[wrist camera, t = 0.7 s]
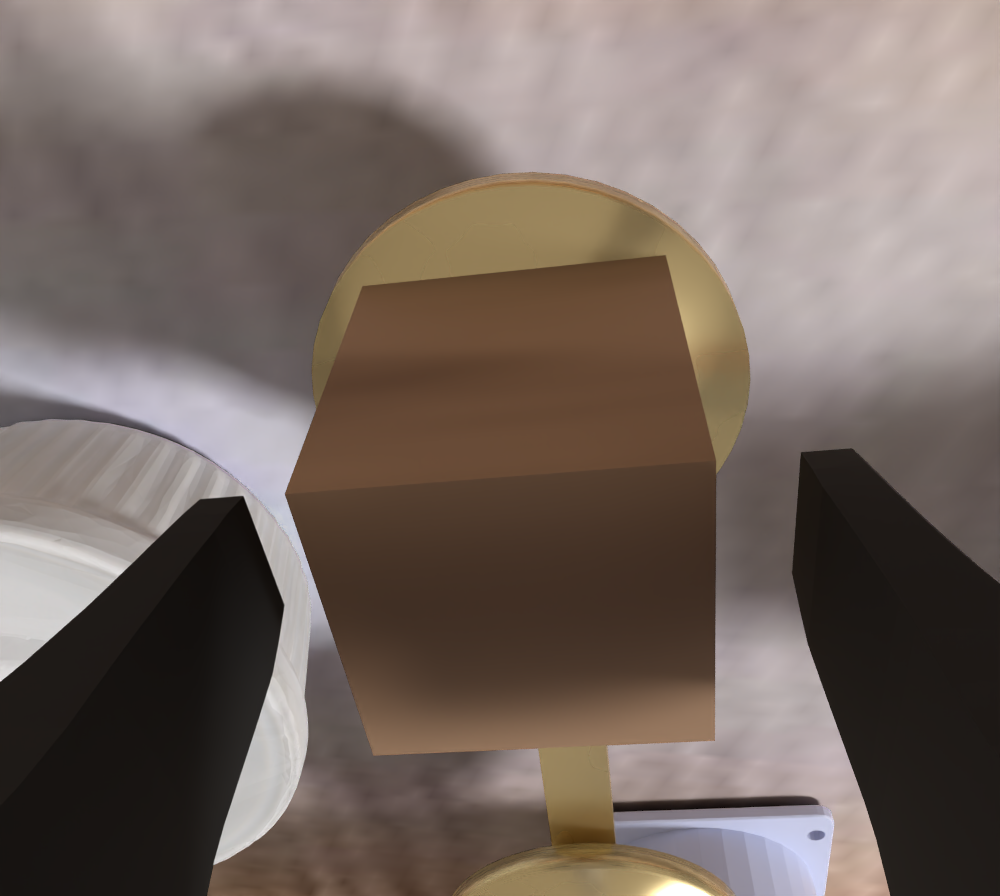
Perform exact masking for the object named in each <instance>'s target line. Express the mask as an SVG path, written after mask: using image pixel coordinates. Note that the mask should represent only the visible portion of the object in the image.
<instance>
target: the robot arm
mask: <svg viewBox="0 0 1000 896" xmlns="http://www.w3.org/2000/svg"><path fill="white" fill-rule="evenodd" d="M792 574H793V579H794V584H795V588H796V593H797V598H798V602H799V607H800V612H801V616H802V620H803V625H804V629H805V633H806V638H807V642H808V646H809V649H810V651H811V654H812V657H813V660H814V663H815V666H816V669H817V671H818V674H819V677H820V680H821V683H822V685H823V688H824V691H825V694H826V697H827V700H828V702H829V705H830V708H831V711H832V713H833V716H834V719H835V722H836V724H837V727H838V730H839V733H840V735H841V738H842V741H843V744H844V746H845V749H846V752H847V755H848V758H849V760H850V763H851V766H852V769H853V771H854V774H855V777H856V780H857V782H858V785H859V788H860V791H861V793H862V796H863V799H864V802H865V805H866V808H867V811H868V814H869V818H870V821H871V824H872V827H873V830H874V834H875V837H876V840H877V844H878V848H879V852H880V856H881V860H882V864H883V868H884V872H885V876H886V880H887V884H888V888H889V892H890V896H1000V584H999V583H998V582H997V581H996V580H995V579H993V578H992V577H991V576H990V575H989V574H987V573H986V572H985V571H984V570H983V569H981V568H980V567H979V566H978V565H977V564H975V563H974V562H973V561H972V560H971V559H970V558H969V557H968V556H966V555H965V554H964V553H963V552H962V551H961V550H960V549H958V548H957V547H956V546H955V545H954V544H953V543H952V542H951V541H949V540H948V539H947V538H946V537H945V536H944V535H943V534H941V533H940V532H939V531H938V530H937V529H936V528H935V527H934V526H933V525H932V524H931V523H929V522H928V521H927V520H926V519H925V518H924V517H923V516H922V515H921V514H920V513H919V512H918V511H917V510H916V509H915V508H913V507H912V506H911V505H910V504H909V503H908V502H907V501H906V500H905V499H904V498H903V497H902V496H901V495H900V494H899V493H898V492H897V491H896V490H895V489H894V488H893V487H892V486H891V485H890V484H889V483H888V482H887V481H886V480H885V479H883V478H882V477H881V476H880V475H879V474H878V473H877V472H876V471H875V470H874V469H873V468H872V467H871V466H870V465H869V464H868V463H867V462H866V461H865V460H864V459H863V458H862V457H861V456H860V455H859V454H858V453H856V452H855V451H854V450H853V449H839V450H826V451H813V452H801V459H800V473H799V487H798V501H797V514H796V528H795V542H794V556H793V569H792ZM284 606H285V605H284V602H283V599H282V597H281V594H280V591H279V589H278V586H277V584H276V581H275V578H274V576H273V573H272V570H271V568H270V565H269V562H268V560H267V557H266V554H265V552H264V549H263V546H262V544H261V541H260V538H259V536H258V533H257V530H256V528H255V525H254V522H253V520H252V517H251V514H250V512H249V509H248V506H247V504H246V501H245V498H244V496H233V497H221V498H208V499H200V500H198V501H197V502H196V503H195V504H194V505H193V506H191V507H190V508H189V509H188V510H187V511H186V512H185V513H184V514H183V515H182V516H180V517H179V518H178V519H177V520H176V521H175V522H174V523H173V524H172V525H171V526H170V527H169V528H168V529H167V530H166V531H165V532H164V533H163V534H162V535H161V536H160V537H159V538H158V539H157V540H156V541H155V542H153V543H152V544H151V545H150V546H149V547H148V548H147V549H146V550H145V551H144V552H143V553H142V554H141V555H140V556H139V557H138V558H137V559H136V560H135V561H134V562H133V563H132V564H131V565H130V566H129V567H128V568H127V569H126V570H125V571H124V572H123V573H122V574H121V575H119V576H118V577H117V578H116V579H115V580H114V581H113V582H112V583H111V584H110V585H109V586H108V587H107V588H106V589H105V590H104V591H103V592H102V593H101V594H100V595H99V596H98V597H97V598H95V599H94V600H93V601H92V602H91V603H90V604H89V605H88V606H87V607H86V608H85V609H84V610H83V611H81V612H80V613H79V614H78V615H77V616H76V617H75V618H74V619H72V620H71V621H70V622H69V623H68V624H67V625H66V626H64V627H63V628H62V629H61V630H60V631H59V632H58V633H57V634H55V635H54V636H53V637H52V638H51V639H50V640H49V641H48V642H46V643H45V644H44V645H43V646H42V647H41V648H40V649H38V650H37V651H36V652H35V653H34V654H33V655H32V656H31V657H29V658H28V659H27V660H26V661H25V662H24V663H22V664H21V665H20V666H19V667H18V668H16V669H15V670H14V671H13V672H12V673H10V674H9V675H8V676H7V677H5V678H4V679H3V680H2V681H0V896H207V892H208V888H209V883H210V878H211V874H212V869H213V864H214V860H215V856H216V853H217V849H218V846H219V842H220V838H221V835H222V831H223V828H224V824H225V821H226V818H227V815H228V812H229V809H230V806H231V803H232V800H233V797H234V794H235V791H236V788H237V784H238V781H239V778H240V775H241V772H242V769H243V766H244V763H245V760H246V757H247V754H248V751H249V748H250V745H251V741H252V738H253V735H254V732H255V729H256V726H257V723H258V720H259V717H260V713H261V710H262V707H263V704H264V701H265V698H266V694H267V691H268V688H269V685H270V681H271V678H272V675H273V670H274V665H275V660H276V654H277V649H278V644H279V638H280V632H281V625H282V619H283V613H284ZM614 823H615V833H616V844H620V845H629V846H636V847H642V848H647V849H652V850H656V851H660V852H664V853H668V854H671V855H674V856H677V857H680V858H683V859H685V860H687V861H690V862H692V863H694V864H696V865H699V866H701V867H702V868H704V869H706V870H707V871H709V872H711V873H713V874H714V875H715V876H717V877H718V878H719V879H721V880H722V881H723V882H724V883H726V885H727V886H728V887H729V888H730V889H731V890H732V891H733V892H734V893H735V895H736V896H825V889H826V881H827V874H828V867H829V859H830V852H831V845H832V837H833V830H834V820H833V816H832V813H831V810H829V809H828V808H827V807H824V806H821V805H798V806H770V807H742V808H714V809H686V810H658V811H630V812H614Z"/></svg>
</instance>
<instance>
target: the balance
mask: <svg viewBox="0 0 1000 896" xmlns="http://www.w3.org/2000/svg"><path fill="white" fill-rule="evenodd" d="M662 255H666V258H667V262H668V266H669V270H670V274H671V278H672V282H673V286H674V290H675V295H676V299H677V303H678V307H679V311H680V315H681V319H682V323H683V327H684V331H685V335H686V339H687V344H688V348H689V352H690V356H691V360H692V364H693V368H694V372H695V376H696V380H697V384H698V388H699V393H700V397H701V401H702V405H703V409H704V413H705V417H706V421H707V425H708V429H709V433H710V437H711V441H712V446H713V450H714V454H715V458H716V474H717V473H718V471H719V470H720V468H721V467H722V465H723V464H724V462H725V460H726V459H727V457H728V455H729V454H730V452H731V450H732V448H733V446H734V444H735V441H736V439H737V437H738V434H739V432H740V430H741V427H742V423H743V420H744V416H745V412H746V408H747V405H748V396H749V386H750V366H749V353H748V348H747V343H746V338H745V334H744V329H743V326H742V324H741V321H740V318H739V315H738V312H737V310H736V307H735V304H734V302H733V299H732V296H731V294H730V291H729V289H728V286H727V285H726V283H725V281H724V279H723V278H722V276H721V274H720V272H719V271H718V269H717V267H716V265H715V264H714V262H713V261H712V260H711V259H710V257H709V256H708V255H707V254H706V252H705V251H704V250H703V249H702V247H701V246H700V245H699V243H698V242H697V241H696V240H695V239H694V238H692V237H691V236H690V235H689V234H688V233H687V232H686V231H685V230H684V229H683V228H682V227H681V226H680V225H679V224H678V223H676V222H675V221H674V220H672V219H671V218H669V217H668V216H667V215H665V214H664V213H662V212H661V211H659V210H658V209H657V208H655V207H654V206H652V205H650V204H648V203H646V202H644V201H643V200H641V199H639V198H637V197H635V196H633V195H631V194H629V193H627V192H625V191H622V190H619V189H616V188H614V187H611V186H608V185H605V184H602V183H599V182H597V181H592V180H588V179H583V178H578V177H573V176H569V175H562V174H549V173H537V172H529V173H508V174H498V175H493V176H487V177H482V178H476V179H471V180H468V181H465V182H461V183H458V184H455V185H452V186H449V187H446V188H443V189H440V190H438V191H436V192H434V193H432V194H430V195H428V196H426V197H423V198H421V199H419V200H417V201H415V202H413V203H412V204H410V205H409V206H407V207H406V208H404V209H403V210H401V211H400V212H398V213H397V214H395V215H394V216H392V217H391V218H389V219H388V220H387V221H386V222H385V223H384V224H383V225H381V226H380V227H379V228H378V229H377V230H376V231H375V232H373V233H372V234H371V235H370V236H369V237H368V238H367V239H366V241H365V242H364V243H363V244H362V245H361V246H360V248H359V249H358V250H357V251H356V252H355V254H354V255H353V256H352V257H351V259H350V260H349V262H348V264H347V265H346V267H345V268H344V270H343V272H342V273H341V275H340V276H339V278H338V280H337V282H336V284H335V287H334V289H333V291H332V294H331V296H330V298H329V301H328V303H327V305H326V308H325V310H324V313H323V315H322V317H321V320H320V323H319V327H318V331H317V335H316V339H315V343H314V349H313V360H312V384H313V396H314V400H315V405H316V409H317V407H318V404H319V401H320V399H321V396H322V393H323V391H324V388H325V385H326V382H327V380H328V377H329V374H330V372H331V369H332V366H333V364H334V361H335V358H336V356H337V353H338V350H339V348H340V345H341V342H342V340H343V337H344V334H345V332H346V329H347V326H348V323H349V321H350V318H351V315H352V313H353V310H354V307H355V305H356V302H357V299H358V297H359V294H360V291H361V289H362V286H369V285H378V284H388V283H398V282H408V281H417V280H427V279H437V278H447V277H457V276H466V275H476V274H486V273H496V272H506V271H515V270H525V269H535V268H545V267H554V266H564V265H574V264H584V263H594V262H603V261H613V260H623V259H633V258H643V257H652V256H662ZM538 750H539V757H540V764H541V771H542V778H543V785H544V792H545V799H546V806H547V813H548V820H549V827H550V834H551V842H552V846H548V847H541V848H537V849H532V850H528V851H524V852H520V853H517V854H514V855H511V856H508V857H505V858H502V859H500V860H498V861H495V862H493V863H491V864H489V865H487V866H485V867H484V868H482V869H480V870H478V871H477V872H475V873H474V874H473V875H471V876H470V877H469V878H467V879H466V880H465V881H464V882H463V883H462V884H461V885H460V886H459V887H458V889H457V890H456V891H455V893H454V894H453V896H736V895H735V893H734V892H733V891H732V890H731V889H730V888H729V887H728V886H727V885H726V883H724V882H723V881H722V880H721V879H719V878H718V877H717V876H715V875H714V874H713V873H711V872H709V871H707V870H706V869H704V868H702V867H701V866H699V865H696V864H694V863H692V862H690V861H687V860H685V859H683V858H680V857H677V856H674V855H671V854H668V853H664V852H660V851H656V850H652V849H647V848H642V847H636V846H629V845H620V844H616V833H615V823H614V812H613V802H612V791H611V781H610V770H609V759H608V749H607V745H603V746H580V747H558V748H538Z"/></svg>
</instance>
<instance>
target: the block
mask: <svg viewBox="0 0 1000 896" xmlns="http://www.w3.org/2000/svg"><path fill="white" fill-rule="evenodd" d="M285 496H286V499H287V502H288V505H289V508H290V511H291V514H292V516H293V519H294V522H295V525H296V528H297V531H298V534H299V537H300V540H301V543H302V546H303V549H304V552H305V555H306V558H307V561H308V564H309V567H310V570H311V573H312V576H313V579H314V581H315V584H316V587H317V590H318V593H319V596H320V599H321V602H322V605H323V608H324V611H325V614H326V617H327V620H328V623H329V626H330V629H331V632H332V635H333V638H334V641H335V643H336V646H337V649H338V652H339V655H340V658H341V661H342V664H343V667H344V670H345V673H346V676H347V679H348V682H349V685H350V688H351V691H352V694H353V697H354V700H355V703H356V706H357V708H358V711H359V714H360V717H361V720H362V723H363V726H364V729H365V732H366V735H367V738H368V741H369V744H370V747H371V750H372V753H373V756H377V755H399V754H422V753H445V752H467V751H490V750H513V749H535V748H558V747H580V746H603V745H626V744H648V743H671V742H694V741H715V588H716V458H715V454H714V450H713V446H712V441H711V437H710V433H709V429H708V425H707V421H706V417H705V413H704V409H703V405H702V401H701V397H700V393H699V388H698V384H697V380H696V376H695V372H694V368H693V364H692V360H691V356H690V352H689V348H688V344H687V339H686V335H685V331H684V327H683V323H682V319H681V315H680V311H679V307H678V303H677V299H676V295H675V290H674V286H673V282H672V278H671V274H670V270H669V266H668V262H667V258H666V255H662V256H652V257H643V258H633V259H623V260H613V261H603V262H594V263H584V264H574V265H564V266H554V267H545V268H535V269H525V270H515V271H506V272H496V273H486V274H476V275H466V276H457V277H447V278H437V279H427V280H417V281H408V282H398V283H388V284H378V285H369V286H362V289H361V291H360V294H359V297H358V299H357V302H356V305H355V307H354V310H353V313H352V315H351V318H350V321H349V323H348V326H347V329H346V332H345V334H344V337H343V340H342V342H341V345H340V348H339V350H338V353H337V356H336V358H335V361H334V364H333V366H332V369H331V372H330V374H329V377H328V380H327V382H326V385H325V388H324V391H323V393H322V396H321V399H320V401H319V404H318V407H317V409H316V412H315V415H314V417H313V420H312V423H311V425H310V428H309V431H308V433H307V436H306V439H305V441H304V444H303V447H302V450H301V452H300V455H299V458H298V460H297V463H296V466H295V468H294V471H293V474H292V476H291V479H290V482H289V484H288V487H287V490H286V492H285Z"/></svg>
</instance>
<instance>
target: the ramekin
mask: <svg viewBox="0 0 1000 896" xmlns="http://www.w3.org/2000/svg"><path fill="white" fill-rule="evenodd" d="M233 496H244V498H245V501H246V504H247V506H248V509H249V512H250V514H251V517H252V520H253V522H254V525H255V528H256V530H257V533H258V536H259V538H260V541H261V544H262V546H263V549H264V552H265V554H266V557H267V560H268V562H269V565H270V568H271V570H272V573H273V576H274V578H275V581H276V584H277V586H278V589H279V591H280V594H281V597H282V599H283V602H284V605H285V606H284V613H283V619H282V625H281V632H280V638H279V644H278V649H277V654H276V660H275V665H274V670H273V675H272V678H271V681H270V685H269V688H268V691H267V694H266V698H265V701H264V704H263V707H262V710H261V713H260V717H259V720H258V723H257V726H256V729H255V732H254V735H253V738H252V741H251V745H250V748H249V751H248V754H247V757H246V760H245V763H244V766H243V769H242V772H241V775H240V778H239V781H238V784H237V788H236V791H235V794H234V797H233V800H232V803H231V806H230V809H229V812H228V815H227V818H226V821H225V824H224V828H223V831H222V835H221V838H220V842H219V846H218V849H217V853H216V856H215V860H214V864H213V865H215V864H217V863H219V862H222V861H224V860H226V859H228V858H230V857H232V856H233V855H235V854H236V853H238V852H240V851H241V850H243V849H245V848H246V847H248V846H249V845H251V844H252V843H253V842H254V841H256V840H258V839H259V838H261V837H262V836H263V835H264V834H266V832H267V831H268V830H269V829H270V828H271V827H273V826H274V825H275V823H276V822H277V821H278V819H279V818H280V817H281V815H282V814H283V813H284V811H285V810H286V808H287V806H288V805H289V803H290V801H291V799H292V797H293V795H294V792H295V790H296V788H297V785H298V782H299V779H300V775H301V772H302V768H303V764H304V760H305V756H306V752H307V744H308V717H307V709H306V703H305V699H304V694H305V685H306V674H307V661H308V649H309V639H310V629H311V623H310V616H311V601H310V595H309V592H308V581H307V578H306V575H305V573H304V571H303V569H302V565H301V561H300V558H299V556H298V554H297V552H296V551H295V549H294V547H293V546H292V544H291V541H290V539H289V537H288V535H287V534H286V533H285V532H284V530H283V529H282V528H281V527H280V525H279V524H278V522H277V521H276V519H275V517H274V516H273V515H272V514H271V513H270V512H269V511H268V510H267V509H266V508H265V506H264V505H263V504H262V503H261V502H260V501H259V500H258V499H257V498H256V497H255V496H254V495H253V494H252V493H251V492H250V491H249V490H248V489H247V488H246V487H245V486H244V485H243V484H241V483H240V482H239V481H238V480H237V479H235V478H234V477H233V476H231V475H230V474H229V473H228V472H226V471H225V470H223V469H222V468H220V467H219V466H218V465H216V464H215V463H213V462H212V461H210V460H208V459H207V458H205V457H203V456H201V455H200V454H198V453H196V452H194V451H192V450H190V449H188V448H186V447H184V446H182V445H180V444H178V443H175V442H173V441H170V440H168V439H165V438H162V437H160V436H157V435H154V434H151V433H148V432H144V431H141V430H137V429H133V428H129V427H125V426H120V425H115V424H110V423H102V422H92V421H86V420H60V419H47V420H41V421H24V422H18V423H16V424H14V425H11V426H8V427H0V681H2V680H3V679H4V678H5V677H7V676H8V675H9V674H10V673H12V672H13V671H14V670H15V669H16V668H18V667H19V666H20V665H21V664H22V663H24V662H25V661H26V660H27V659H28V658H29V657H31V656H32V655H33V654H34V653H35V652H36V651H37V650H38V649H40V648H41V647H42V646H43V645H44V644H45V643H46V642H48V641H49V640H50V639H51V638H52V637H53V636H54V635H55V634H57V633H58V632H59V631H60V630H61V629H62V628H63V627H64V626H66V625H67V624H68V623H69V622H70V621H71V620H72V619H74V618H75V617H76V616H77V615H78V614H79V613H80V612H81V611H83V610H84V609H85V608H86V607H87V606H88V605H89V604H90V603H91V602H92V601H93V600H94V599H95V598H97V597H98V596H99V595H100V594H101V593H102V592H103V591H104V590H105V589H106V588H107V587H108V586H109V585H110V584H111V583H112V582H113V581H114V580H115V579H116V578H117V577H118V576H119V575H121V574H122V573H123V572H124V571H125V570H126V569H127V568H128V567H129V566H130V565H131V564H132V563H133V562H134V561H135V560H136V559H137V558H138V557H139V556H140V555H141V554H142V553H143V552H144V551H145V550H146V549H147V548H148V547H149V546H150V545H151V544H152V543H153V542H155V541H156V540H157V539H158V538H159V537H160V536H161V535H162V534H163V533H164V532H165V531H166V530H167V529H168V528H169V527H170V526H171V525H172V524H173V523H174V522H175V521H176V520H177V519H178V518H179V517H180V516H182V515H183V514H184V513H185V512H186V511H187V510H188V509H189V508H190V507H191V506H193V505H194V504H195V503H196V502H197V501H198V500H200V499H208V498H221V497H233Z"/></svg>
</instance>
